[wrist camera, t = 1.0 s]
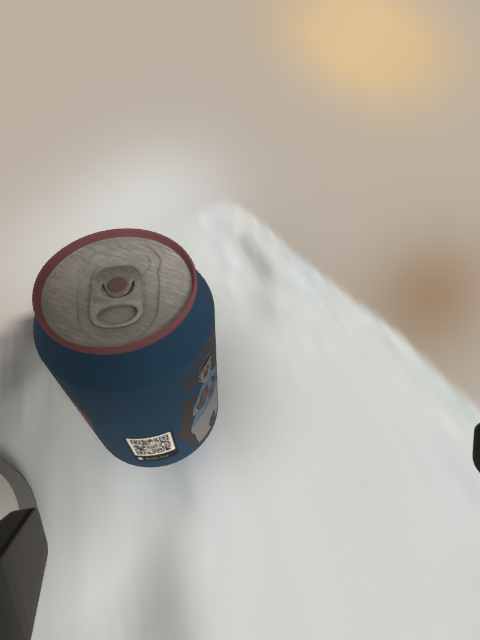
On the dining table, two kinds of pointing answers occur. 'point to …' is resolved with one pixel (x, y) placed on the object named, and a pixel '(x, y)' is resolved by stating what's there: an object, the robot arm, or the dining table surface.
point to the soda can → (131, 342)
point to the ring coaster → (13, 491)
